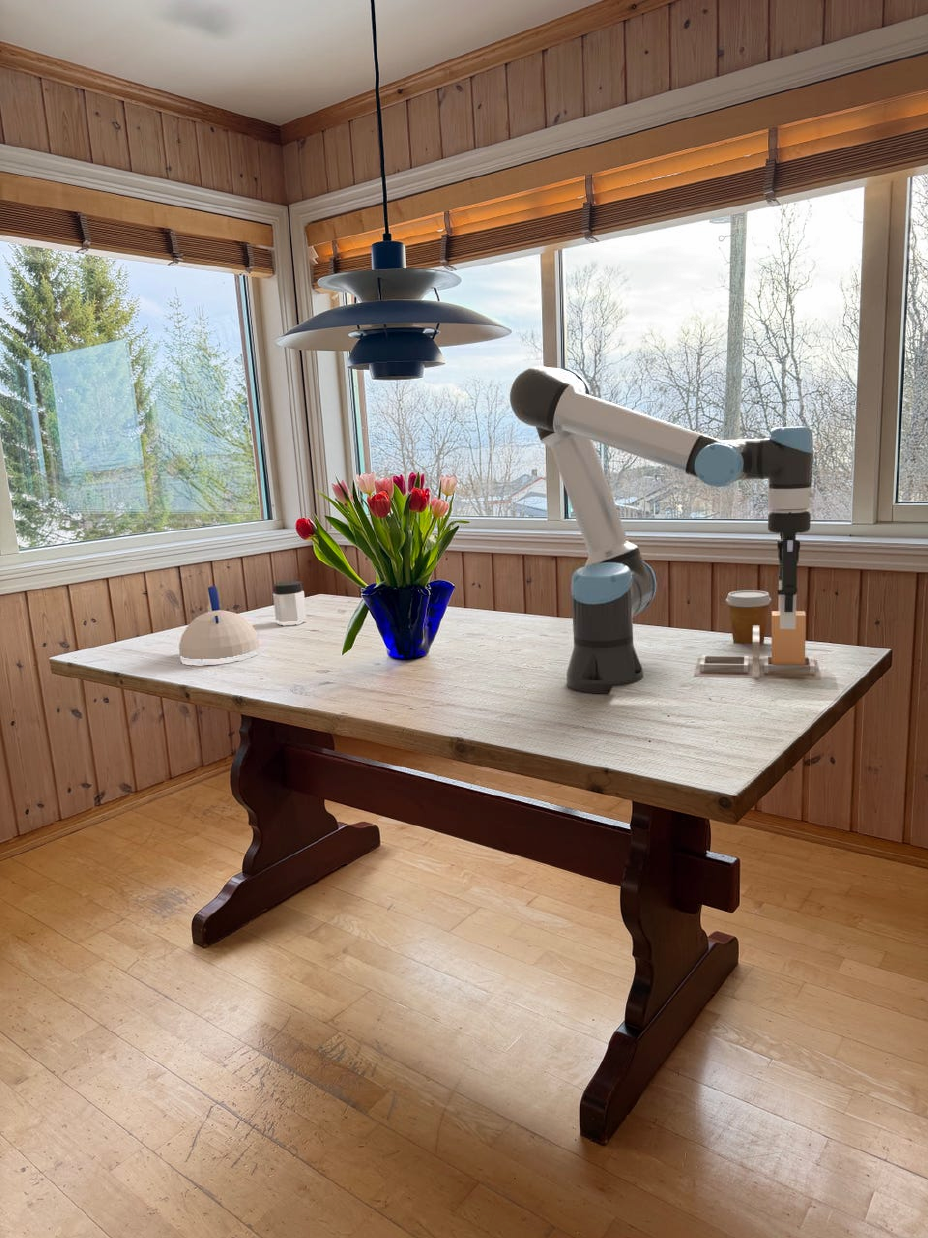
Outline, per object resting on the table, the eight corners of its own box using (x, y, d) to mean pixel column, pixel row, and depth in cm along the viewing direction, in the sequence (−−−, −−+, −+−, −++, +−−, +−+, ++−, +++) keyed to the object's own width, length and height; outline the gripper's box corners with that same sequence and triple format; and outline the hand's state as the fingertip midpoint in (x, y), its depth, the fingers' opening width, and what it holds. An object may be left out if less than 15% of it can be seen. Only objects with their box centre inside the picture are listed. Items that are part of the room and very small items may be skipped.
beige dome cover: (257, 642, 234) (249, 576, 230) (265, 659, 214) (256, 587, 211) (179, 653, 228) (169, 585, 224) (179, 671, 208) (169, 597, 204)
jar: (272, 623, 257) (268, 583, 255) (297, 619, 262) (293, 579, 259) (285, 627, 250) (280, 586, 247) (311, 622, 254) (306, 582, 252)
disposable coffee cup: (773, 651, 188) (774, 597, 186) (728, 652, 190) (727, 598, 188) (767, 640, 197) (768, 589, 195) (724, 641, 199) (723, 590, 197)
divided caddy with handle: (821, 686, 162) (821, 642, 160) (693, 683, 169) (693, 641, 167) (816, 666, 174) (817, 625, 173) (698, 664, 182) (697, 625, 180)
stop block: (805, 671, 167) (805, 615, 164) (771, 670, 169) (772, 615, 166) (804, 665, 170) (804, 611, 168) (771, 665, 172) (771, 611, 170)
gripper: (815, 517, 150) (811, 636, 155) (807, 503, 174) (804, 607, 178) (769, 518, 153) (766, 635, 157) (767, 504, 176) (765, 606, 180)
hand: (786, 620), depth 168 cm, fingers open, 13 cm apart
